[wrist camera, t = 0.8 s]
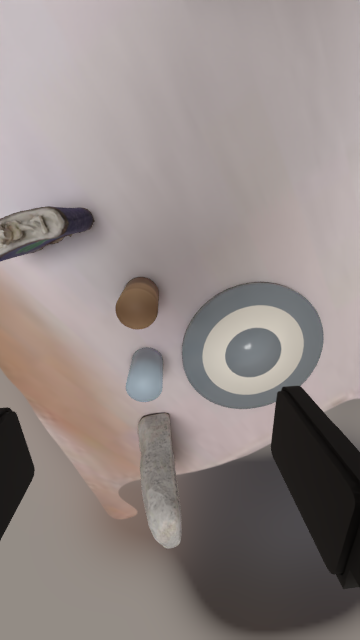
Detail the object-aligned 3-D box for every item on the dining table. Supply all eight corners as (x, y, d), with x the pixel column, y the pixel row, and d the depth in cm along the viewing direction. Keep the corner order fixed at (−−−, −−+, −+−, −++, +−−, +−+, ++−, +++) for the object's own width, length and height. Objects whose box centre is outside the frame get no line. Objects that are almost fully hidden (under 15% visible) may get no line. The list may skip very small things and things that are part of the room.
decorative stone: (181, 457, 43) (189, 569, 30) (147, 461, 43) (140, 576, 30) (173, 409, 39) (178, 514, 25) (136, 414, 39) (120, 522, 25)
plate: (180, 285, 31) (180, 287, 30) (332, 279, 32) (338, 281, 31) (183, 408, 39) (183, 413, 38) (306, 400, 40) (309, 405, 39)
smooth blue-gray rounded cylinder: (130, 348, 34) (123, 373, 29) (161, 346, 35) (161, 371, 29) (133, 374, 36) (127, 402, 31) (163, 372, 36) (163, 400, 31)
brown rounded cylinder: (122, 277, 31) (112, 291, 25) (157, 276, 31) (156, 289, 25) (126, 310, 32) (118, 330, 27) (159, 309, 33) (158, 328, 27)
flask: (27, 255, 29) (-44, 275, 19) (12, 231, 28) (-71, 238, 18) (99, 227, 28) (64, 231, 18) (86, 200, 27) (42, 190, 17)
